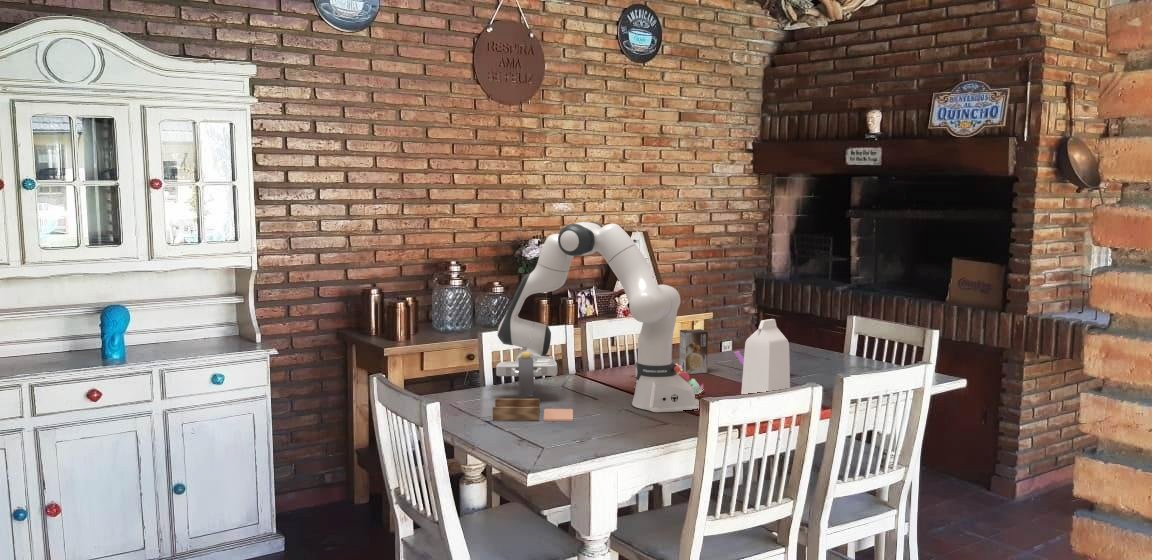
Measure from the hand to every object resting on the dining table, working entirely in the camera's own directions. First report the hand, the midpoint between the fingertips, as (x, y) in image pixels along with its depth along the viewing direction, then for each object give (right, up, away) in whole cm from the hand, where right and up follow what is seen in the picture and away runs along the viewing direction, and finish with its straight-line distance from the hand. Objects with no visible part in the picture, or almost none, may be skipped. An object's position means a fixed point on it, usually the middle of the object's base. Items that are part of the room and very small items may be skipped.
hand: (526, 374), depth 290 cm
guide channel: (-2, -12, -11) cm, 16 cm away
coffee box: (+61, -5, +53) cm, 81 cm away
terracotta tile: (+11, -12, -11) cm, 19 cm away
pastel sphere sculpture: (+49, -9, +25) cm, 56 cm away
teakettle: (+86, -6, +48) cm, 99 cm away
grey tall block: (0, -7, +2) cm, 7 cm away
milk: (+81, -9, +18) cm, 84 cm away
